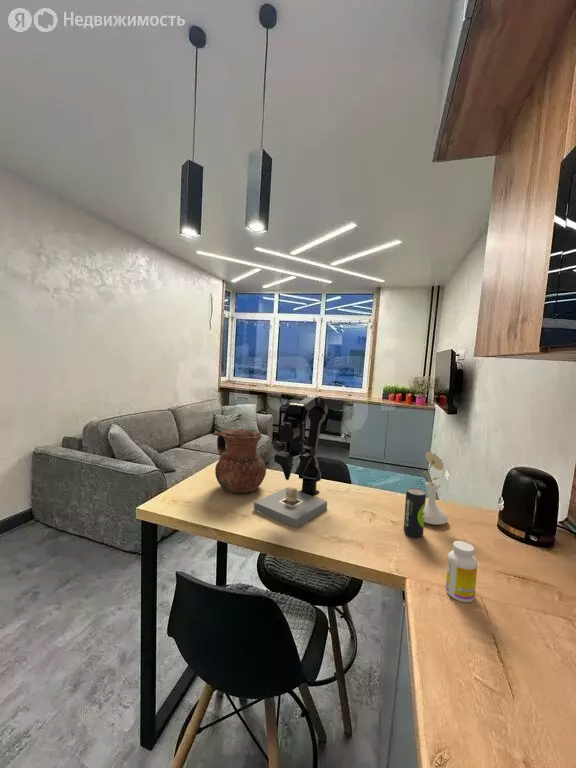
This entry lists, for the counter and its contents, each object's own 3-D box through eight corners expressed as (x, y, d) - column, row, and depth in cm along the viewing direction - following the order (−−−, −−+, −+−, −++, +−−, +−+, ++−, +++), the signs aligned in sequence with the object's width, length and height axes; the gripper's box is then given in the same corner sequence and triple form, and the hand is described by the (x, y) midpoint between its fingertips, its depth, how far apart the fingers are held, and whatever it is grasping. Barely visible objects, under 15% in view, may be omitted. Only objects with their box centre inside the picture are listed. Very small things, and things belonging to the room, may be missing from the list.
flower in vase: (453, 528, 119) (458, 459, 117) (421, 527, 119) (426, 458, 117) (436, 511, 132) (441, 449, 130) (407, 510, 132) (412, 448, 130)
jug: (265, 479, 160) (267, 427, 158) (265, 498, 139) (267, 438, 137) (218, 479, 158) (219, 426, 156) (211, 497, 138) (212, 437, 135)
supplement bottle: (480, 599, 84) (485, 550, 83) (461, 606, 81) (466, 556, 80) (457, 582, 90) (461, 536, 89) (439, 588, 88) (443, 541, 86)
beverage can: (399, 531, 116) (402, 489, 115) (412, 527, 119) (415, 486, 118) (414, 540, 111) (417, 496, 109) (427, 536, 114) (430, 493, 112)
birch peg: (289, 505, 133) (290, 486, 132) (298, 509, 130) (299, 489, 130) (282, 509, 130) (283, 489, 129) (291, 512, 127) (292, 492, 126)
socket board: (286, 494, 144) (287, 487, 144) (326, 508, 132) (327, 500, 131) (253, 509, 128) (254, 501, 128) (295, 527, 116) (296, 519, 116)
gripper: (294, 429, 140) (293, 466, 141) (263, 436, 125) (262, 477, 127) (317, 434, 133) (315, 472, 134) (287, 442, 118) (285, 485, 120)
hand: (294, 476), depth 129 cm, fingers open, 9 cm apart
